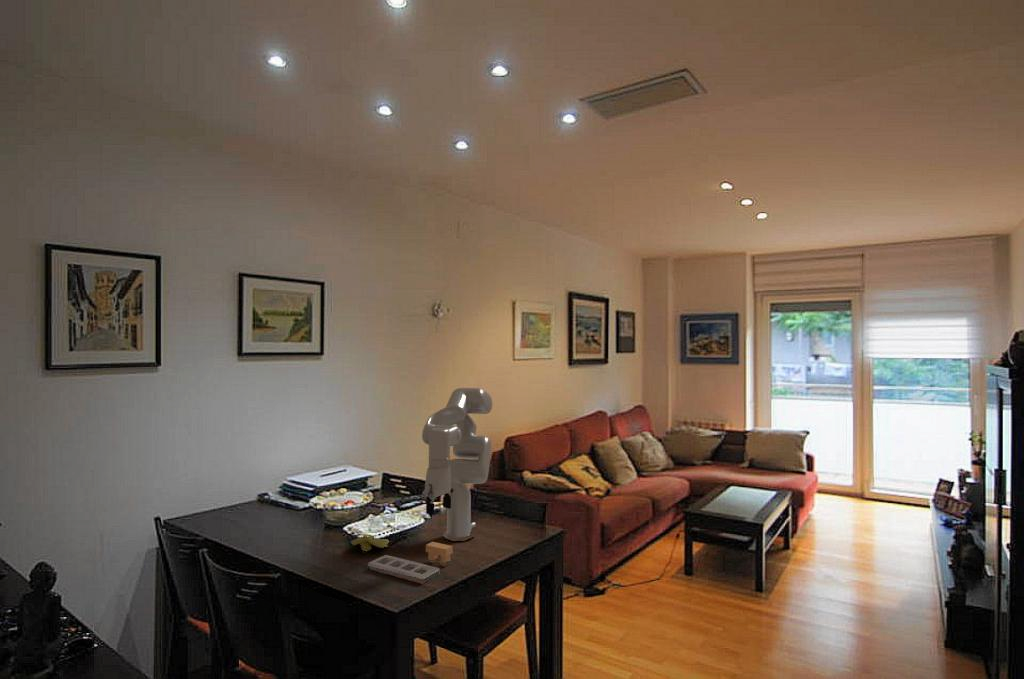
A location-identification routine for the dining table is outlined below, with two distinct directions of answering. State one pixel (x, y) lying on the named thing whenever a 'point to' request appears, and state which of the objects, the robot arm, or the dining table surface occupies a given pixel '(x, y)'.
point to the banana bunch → (371, 542)
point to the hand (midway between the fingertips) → (438, 511)
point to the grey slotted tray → (403, 566)
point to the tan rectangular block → (439, 551)
